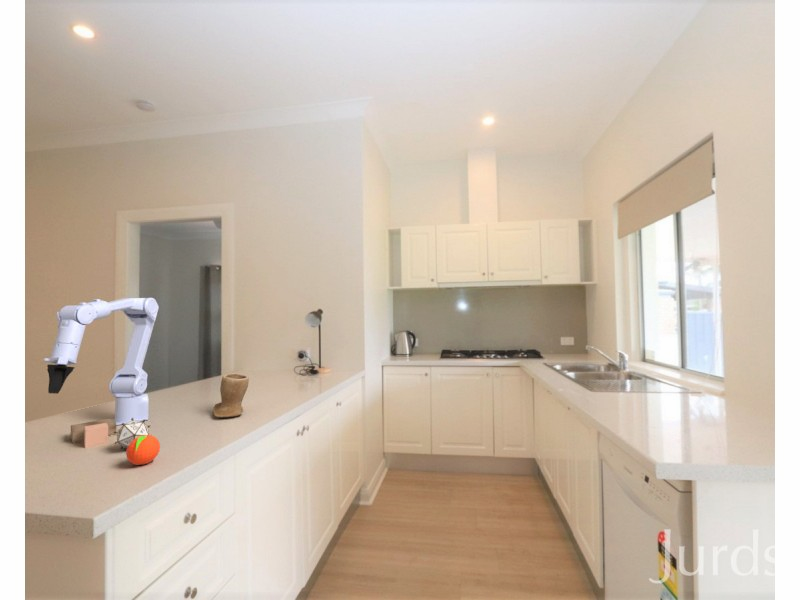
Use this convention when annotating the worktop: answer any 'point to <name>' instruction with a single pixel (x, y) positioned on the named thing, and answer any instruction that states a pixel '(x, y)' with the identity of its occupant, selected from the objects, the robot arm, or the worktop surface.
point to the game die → (131, 432)
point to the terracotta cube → (95, 435)
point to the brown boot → (231, 395)
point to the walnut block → (78, 429)
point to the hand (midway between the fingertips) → (53, 392)
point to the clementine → (143, 449)
